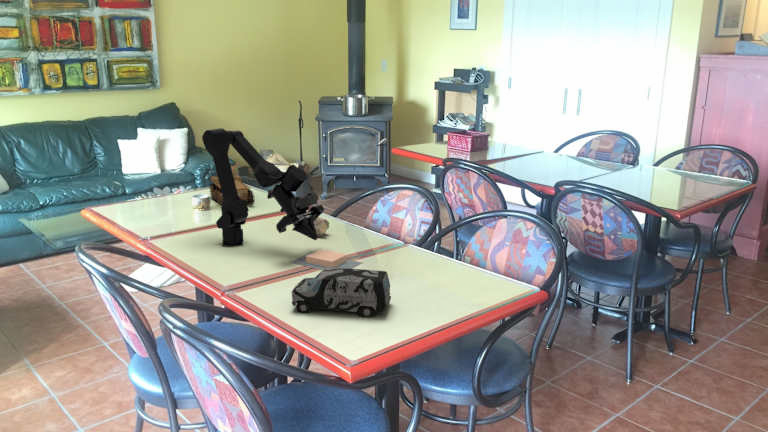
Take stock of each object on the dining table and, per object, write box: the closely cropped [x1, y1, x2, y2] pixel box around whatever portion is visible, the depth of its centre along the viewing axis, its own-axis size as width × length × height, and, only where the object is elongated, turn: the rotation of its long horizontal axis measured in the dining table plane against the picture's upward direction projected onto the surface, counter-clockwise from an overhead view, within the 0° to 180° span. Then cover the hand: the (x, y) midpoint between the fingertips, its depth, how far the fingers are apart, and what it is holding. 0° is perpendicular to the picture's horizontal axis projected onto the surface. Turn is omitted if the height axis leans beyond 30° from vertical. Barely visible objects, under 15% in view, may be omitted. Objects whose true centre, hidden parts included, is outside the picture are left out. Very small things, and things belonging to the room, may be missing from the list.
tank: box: [209, 165, 256, 206], centre depth 273 cm, size 13×27×15 cm, turn 28°
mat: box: [288, 252, 363, 271], centre depth 199 cm, size 20×12×1 cm, turn 59°
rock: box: [314, 217, 330, 237], centre depth 228 cm, size 7×11×10 cm
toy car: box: [291, 267, 392, 318], centre depth 164 cm, size 11×25×10 cm, turn 81°
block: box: [306, 248, 348, 268], centre depth 198 cm, size 2×8×10 cm
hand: (316, 239), depth 199 cm, fingers closed
